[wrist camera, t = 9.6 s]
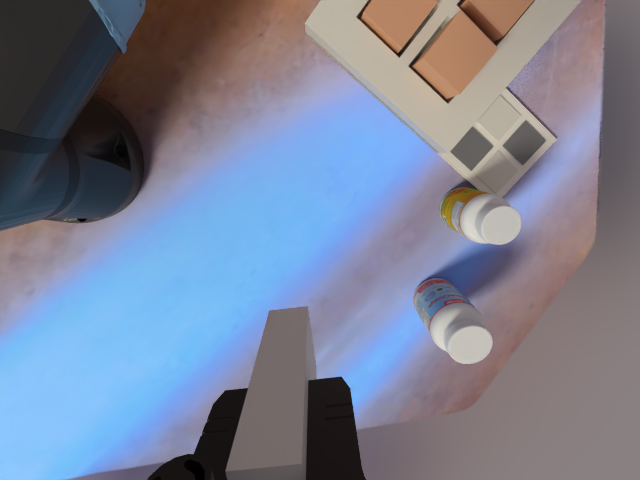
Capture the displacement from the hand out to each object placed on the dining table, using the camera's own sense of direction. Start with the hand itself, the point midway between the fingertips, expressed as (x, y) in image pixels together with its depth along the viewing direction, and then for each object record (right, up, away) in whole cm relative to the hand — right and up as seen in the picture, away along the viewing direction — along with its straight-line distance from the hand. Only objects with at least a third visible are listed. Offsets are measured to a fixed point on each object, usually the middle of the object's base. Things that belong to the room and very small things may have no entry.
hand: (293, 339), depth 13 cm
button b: (+14, +22, +21) cm, 34 cm away
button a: (+18, +28, +21) cm, 40 cm away
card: (+22, +15, +27) cm, 38 cm away
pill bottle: (+16, -4, +32) cm, 36 cm away
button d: (+9, +27, +22) cm, 36 cm away
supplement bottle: (+19, +8, +29) cm, 35 cm away
